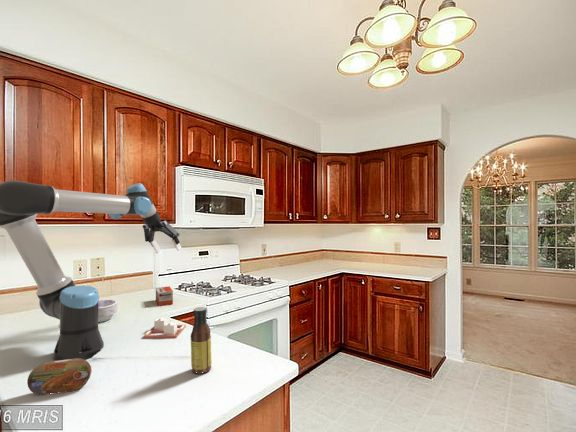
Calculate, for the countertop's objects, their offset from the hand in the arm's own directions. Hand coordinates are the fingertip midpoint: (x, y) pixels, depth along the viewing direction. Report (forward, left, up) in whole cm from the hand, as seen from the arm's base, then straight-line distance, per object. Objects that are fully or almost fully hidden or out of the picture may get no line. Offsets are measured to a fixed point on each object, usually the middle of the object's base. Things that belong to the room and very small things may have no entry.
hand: (169, 250), depth 160 cm
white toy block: (-26, -5, -31) cm, 41 cm away
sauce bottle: (-60, -30, -33) cm, 75 cm away
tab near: (-32, -11, -31) cm, 46 cm away
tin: (-70, +7, -33) cm, 78 cm away
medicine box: (+25, +11, -33) cm, 43 cm away
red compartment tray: (-29, -8, -33) cm, 44 cm away
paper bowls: (-6, +31, -33) cm, 46 cm away
